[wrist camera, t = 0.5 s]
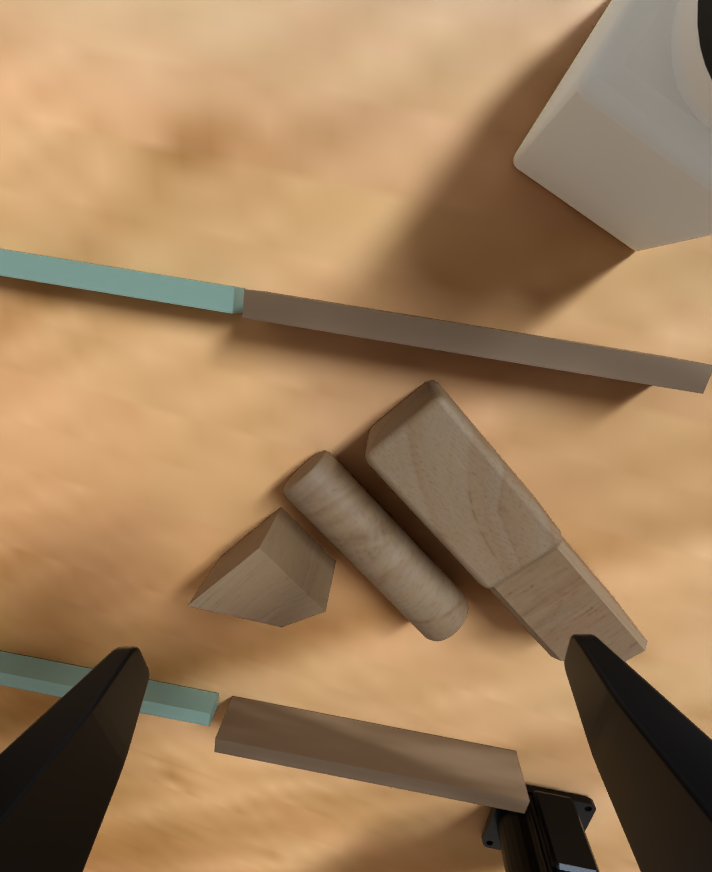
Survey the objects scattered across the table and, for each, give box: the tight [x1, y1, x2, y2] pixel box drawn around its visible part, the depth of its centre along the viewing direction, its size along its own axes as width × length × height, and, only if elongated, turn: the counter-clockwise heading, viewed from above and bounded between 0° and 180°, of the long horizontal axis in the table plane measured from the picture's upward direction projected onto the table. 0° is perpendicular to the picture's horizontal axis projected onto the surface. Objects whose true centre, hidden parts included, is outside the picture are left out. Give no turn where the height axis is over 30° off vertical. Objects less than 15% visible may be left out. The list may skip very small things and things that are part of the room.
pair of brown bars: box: [215, 289, 712, 814], centre depth 23 cm, size 28×20×3 cm
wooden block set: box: [188, 380, 647, 661], centre depth 23 cm, size 17×6×18 cm
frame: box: [0, 249, 245, 726], centre depth 25 cm, size 28×19×2 cm
